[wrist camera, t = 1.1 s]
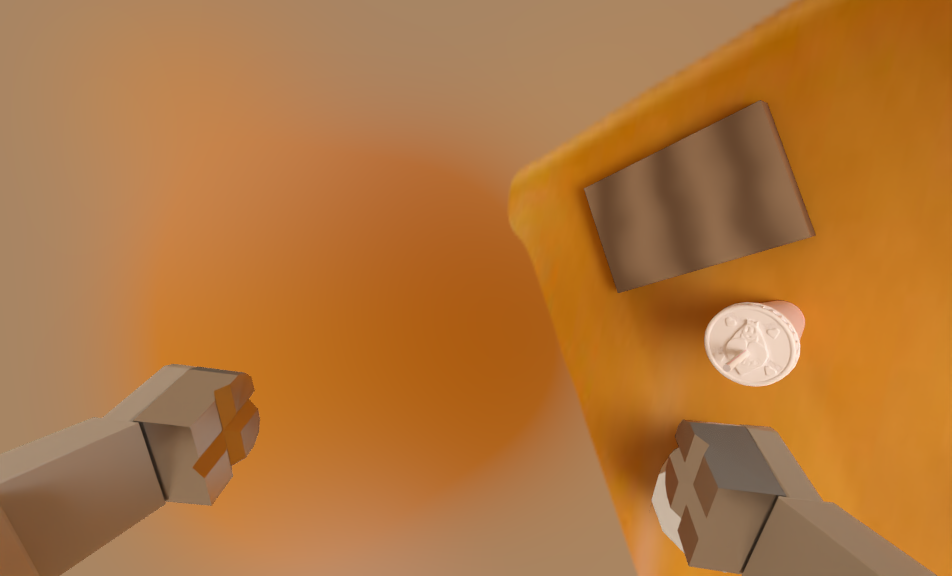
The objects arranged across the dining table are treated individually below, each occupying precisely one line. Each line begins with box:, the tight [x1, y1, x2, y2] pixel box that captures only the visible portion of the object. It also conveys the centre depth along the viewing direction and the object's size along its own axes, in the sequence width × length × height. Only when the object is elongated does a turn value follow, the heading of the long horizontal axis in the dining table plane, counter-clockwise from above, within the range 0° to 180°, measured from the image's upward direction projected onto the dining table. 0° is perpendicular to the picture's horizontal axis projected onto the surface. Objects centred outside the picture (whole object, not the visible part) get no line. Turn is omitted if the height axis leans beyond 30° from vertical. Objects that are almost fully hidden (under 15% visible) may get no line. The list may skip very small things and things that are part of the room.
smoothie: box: [704, 301, 805, 386], centre depth 38 cm, size 6×6×14 cm
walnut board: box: [584, 100, 815, 293], centre depth 46 cm, size 18×12×2 cm, turn 112°
